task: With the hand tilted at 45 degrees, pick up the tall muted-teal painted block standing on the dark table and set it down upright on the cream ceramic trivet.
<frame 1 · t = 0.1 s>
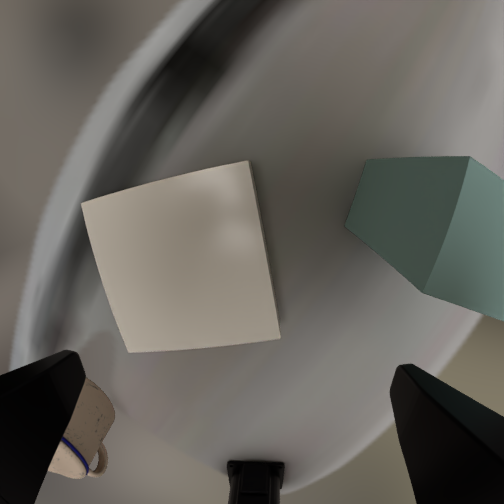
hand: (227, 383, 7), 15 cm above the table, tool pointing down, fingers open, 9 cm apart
teacup with lid: (91, 406, 28), on the table
teal block: (391, 207, 20), on the table
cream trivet: (185, 260, 22), on the table
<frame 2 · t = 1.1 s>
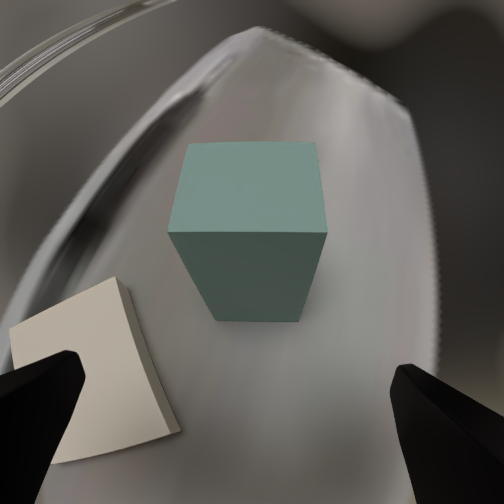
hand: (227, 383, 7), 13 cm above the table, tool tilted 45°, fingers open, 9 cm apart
teal block: (257, 289, 23), on the table
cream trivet: (87, 381, 19), on the table
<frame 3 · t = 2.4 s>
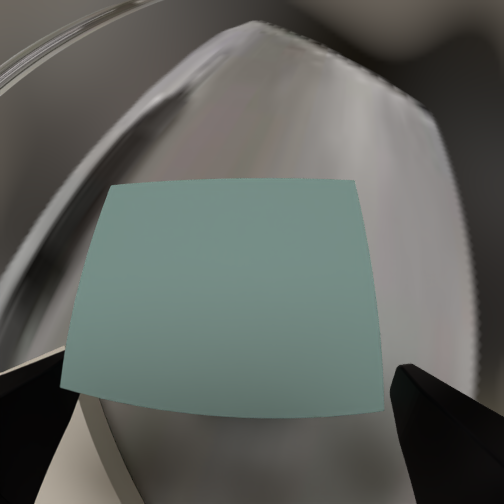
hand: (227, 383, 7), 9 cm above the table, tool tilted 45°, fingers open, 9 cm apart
teal block: (249, 367, 16), on the table
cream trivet: (49, 458, 13), on the table
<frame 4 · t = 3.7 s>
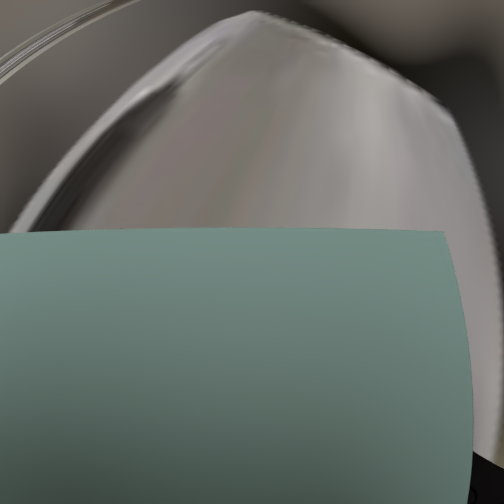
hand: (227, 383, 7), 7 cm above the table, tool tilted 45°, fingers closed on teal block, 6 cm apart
teal block: (244, 421, 12), on the table, touching gripper
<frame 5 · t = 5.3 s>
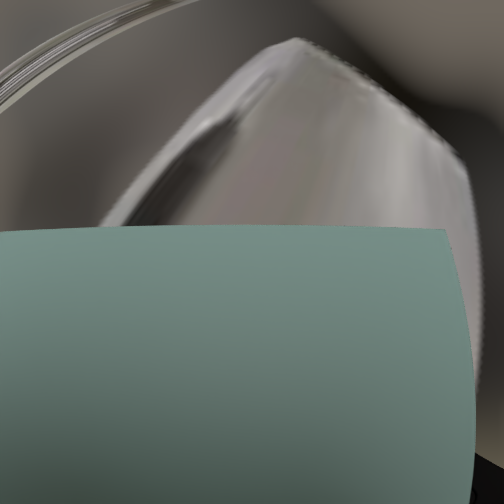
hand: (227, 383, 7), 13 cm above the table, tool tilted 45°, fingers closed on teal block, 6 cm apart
teal block: (244, 420, 12), point 7 cm above the table, touching gripper
when the fingers open (10 cm above the table, at t = 7.1 s): teal block drops 1 cm, resting on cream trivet.
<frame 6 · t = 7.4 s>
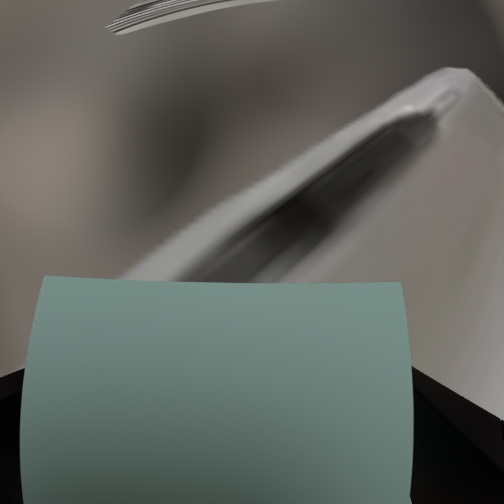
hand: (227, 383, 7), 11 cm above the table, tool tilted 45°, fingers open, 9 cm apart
teal block: (246, 419, 14), point 2 cm above the table, touching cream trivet
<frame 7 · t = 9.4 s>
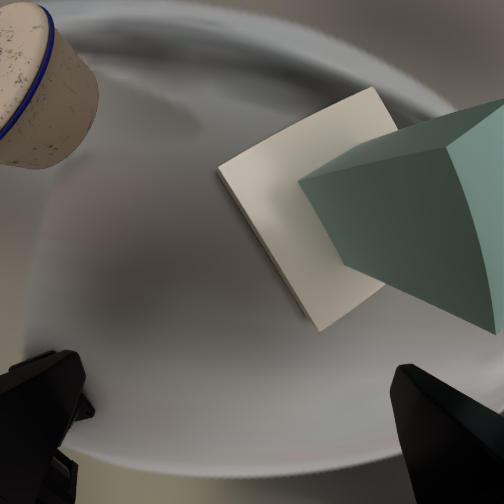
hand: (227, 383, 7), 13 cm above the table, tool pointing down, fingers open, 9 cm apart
teacup with lid: (37, 128, 17), on the table
teal block: (353, 203, 18), point 2 cm above the table, touching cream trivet
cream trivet: (337, 203, 20), on the table
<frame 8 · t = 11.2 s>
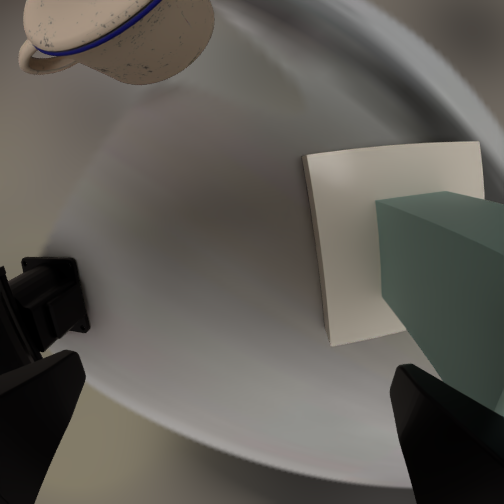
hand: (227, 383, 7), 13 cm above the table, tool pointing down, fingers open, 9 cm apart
teacup with lid: (137, 42, 16), on the table
teal block: (415, 244, 16), point 2 cm above the table, touching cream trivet
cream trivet: (399, 234, 19), on the table
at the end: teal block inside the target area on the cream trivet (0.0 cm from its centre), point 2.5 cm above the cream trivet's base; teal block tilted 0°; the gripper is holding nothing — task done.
